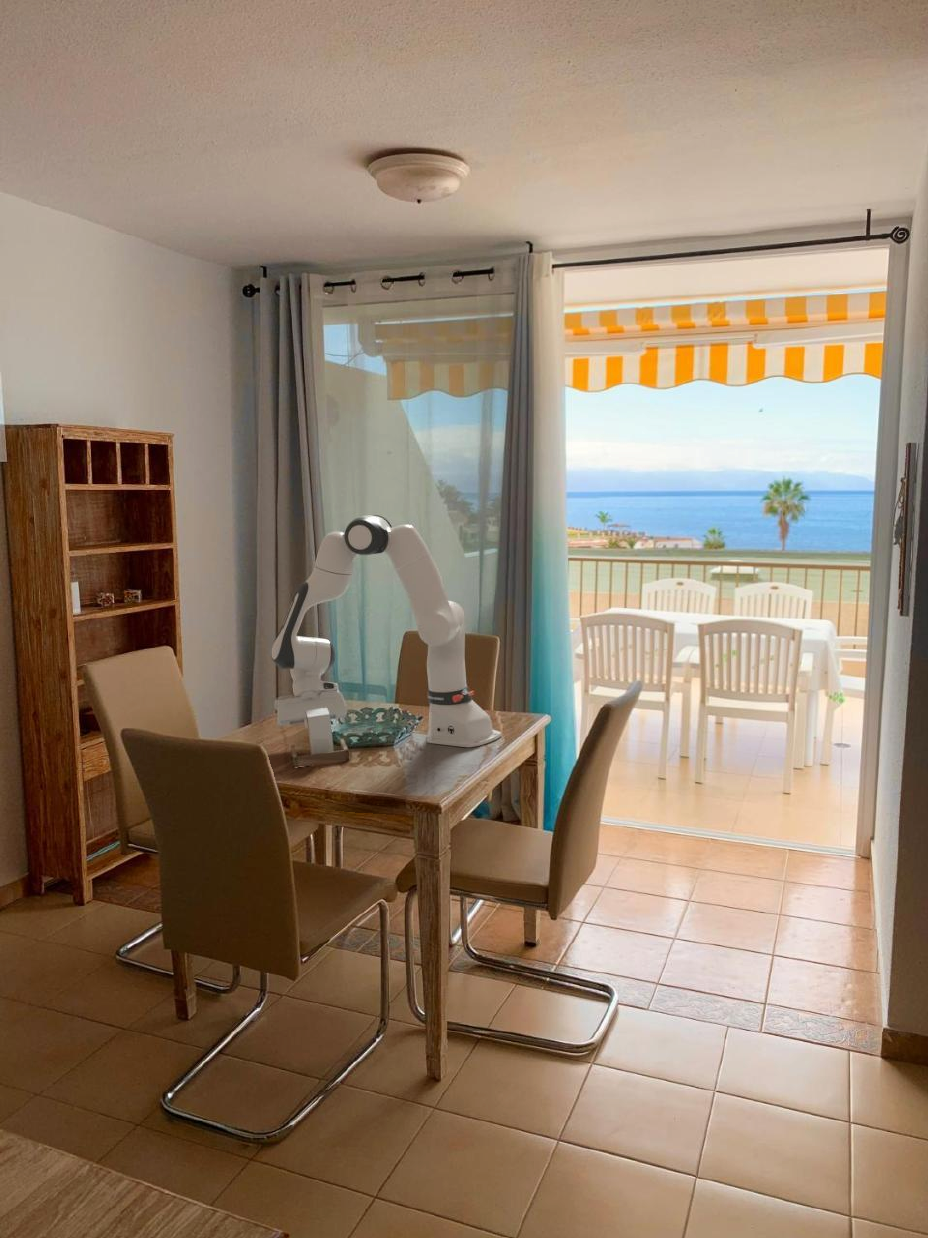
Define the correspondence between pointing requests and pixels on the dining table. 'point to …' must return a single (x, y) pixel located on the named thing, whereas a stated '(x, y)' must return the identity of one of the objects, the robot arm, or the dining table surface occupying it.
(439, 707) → the robot arm
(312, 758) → the walnut bay
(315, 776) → the dining table surface
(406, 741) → the dining table surface
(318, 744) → the small box
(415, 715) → the dining table surface
